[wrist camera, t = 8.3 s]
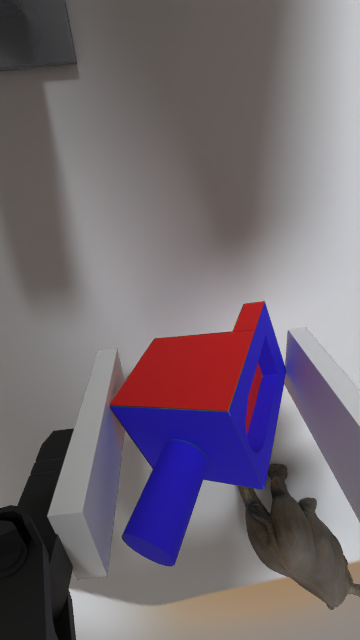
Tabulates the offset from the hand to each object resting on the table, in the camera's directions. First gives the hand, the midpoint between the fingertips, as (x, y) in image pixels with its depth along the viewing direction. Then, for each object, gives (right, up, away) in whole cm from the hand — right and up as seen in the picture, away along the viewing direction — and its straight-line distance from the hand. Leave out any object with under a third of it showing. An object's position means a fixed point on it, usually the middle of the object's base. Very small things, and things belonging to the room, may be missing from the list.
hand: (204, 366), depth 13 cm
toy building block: (0, 0, 0) cm, 1 cm away
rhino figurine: (+8, -12, +12) cm, 19 cm away
